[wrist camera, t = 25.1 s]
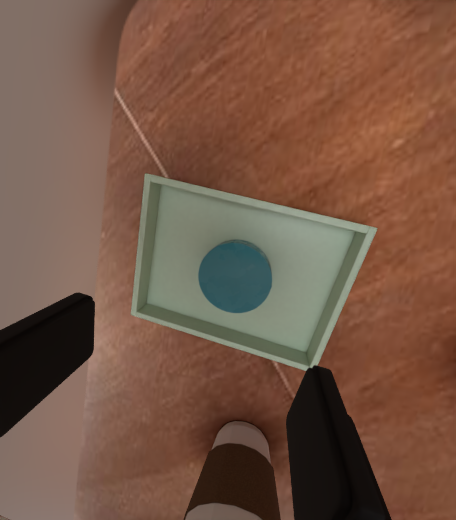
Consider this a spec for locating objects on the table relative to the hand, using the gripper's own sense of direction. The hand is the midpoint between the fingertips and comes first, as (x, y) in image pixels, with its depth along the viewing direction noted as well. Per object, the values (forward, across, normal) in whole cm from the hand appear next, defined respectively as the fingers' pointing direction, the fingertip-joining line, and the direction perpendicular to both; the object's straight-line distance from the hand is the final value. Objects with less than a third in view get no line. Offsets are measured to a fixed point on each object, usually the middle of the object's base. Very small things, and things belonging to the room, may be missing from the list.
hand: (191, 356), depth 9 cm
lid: (+11, 0, +1) cm, 11 cm away
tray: (+13, 0, +1) cm, 13 cm away
